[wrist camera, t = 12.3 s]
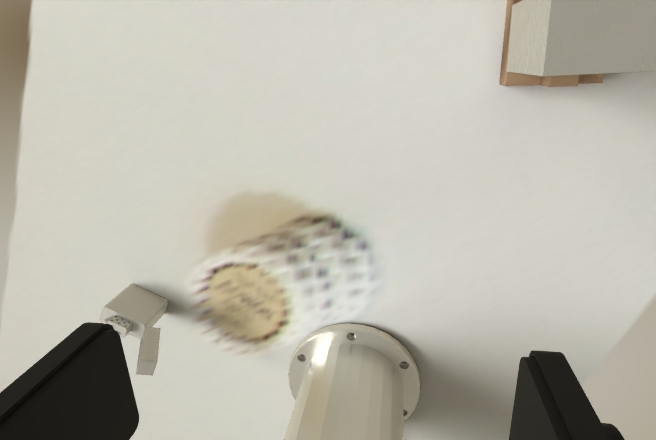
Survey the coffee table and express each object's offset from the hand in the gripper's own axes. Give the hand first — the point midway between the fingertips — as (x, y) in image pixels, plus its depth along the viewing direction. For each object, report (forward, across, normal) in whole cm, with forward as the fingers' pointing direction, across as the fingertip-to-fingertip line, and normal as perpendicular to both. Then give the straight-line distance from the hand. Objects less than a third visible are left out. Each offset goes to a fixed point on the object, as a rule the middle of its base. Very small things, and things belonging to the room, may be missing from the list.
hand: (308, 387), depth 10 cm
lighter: (+26, +21, +15) cm, 37 cm away
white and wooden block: (+24, -12, -8) cm, 28 cm away
